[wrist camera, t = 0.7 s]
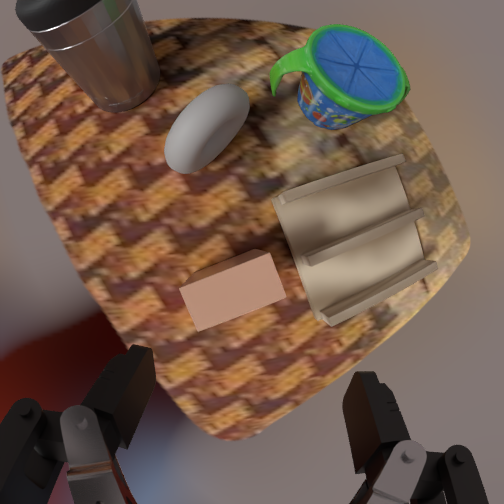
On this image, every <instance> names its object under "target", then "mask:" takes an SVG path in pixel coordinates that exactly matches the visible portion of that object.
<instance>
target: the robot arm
mask: <svg viewBox="0 0 504 504" xmlns="http://www.w3.org/2000/svg"><path fill="white" fill-rule="evenodd" d="M15 10H16V14H17V16H18V18H19V19H20V20H21V22H22V23H23V24H24V25H25V26H26V28H27V29H28V30H29V31H30V32H31V33H32V34H33V36H34V37H36V39H37V40H38V41H39V42H40V43H41V44H42V46H43V47H44V48H45V49H46V50H47V51H48V52H49V53H50V54H51V55H52V57H53V58H54V59H55V60H56V61H57V62H58V63H59V64H60V65H61V67H62V68H63V69H64V70H65V71H66V72H67V73H68V74H69V75H70V76H71V78H72V79H73V80H74V81H75V82H76V83H77V84H78V85H79V86H80V87H81V89H82V90H83V91H84V92H85V93H86V94H87V95H88V96H89V97H90V98H91V100H92V101H93V102H94V103H95V104H96V105H97V106H98V107H99V108H100V109H102V110H104V111H108V112H122V111H126V110H129V109H132V108H134V107H136V106H137V105H139V104H141V103H142V102H143V101H145V100H146V99H147V98H148V97H149V96H150V95H151V94H152V92H153V91H154V90H155V88H156V86H157V84H158V82H159V78H160V68H159V65H158V62H157V59H156V56H155V53H154V50H153V47H152V44H151V41H150V38H149V35H148V32H147V29H146V26H145V23H144V20H143V17H142V14H141V11H140V8H139V5H138V2H137V0H17V3H16V9H15ZM155 382H156V373H155V366H154V359H153V351H152V349H151V348H148V347H144V346H139V345H135V344H133V345H132V346H131V347H130V349H129V350H128V352H127V353H126V355H123V354H118V355H117V356H115V357H114V358H113V359H111V360H110V361H109V362H108V364H107V365H106V367H105V368H104V371H102V373H101V374H100V376H99V378H98V379H97V380H96V382H95V383H94V385H93V386H92V388H91V389H90V391H89V392H88V394H87V396H86V397H85V399H84V400H83V402H82V403H81V405H77V406H72V407H69V408H68V409H66V410H65V411H64V412H55V411H48V410H42V408H41V406H40V405H39V403H38V402H37V401H35V400H34V399H31V398H23V399H20V400H18V401H16V402H15V403H14V404H13V406H12V407H11V409H10V410H9V412H8V413H7V415H6V416H5V417H4V419H3V421H2V422H1V424H0V504H47V503H48V500H49V498H50V495H51V493H52V490H53V488H54V485H55V483H56V481H57V478H58V476H59V474H60V471H61V469H62V467H63V465H64V462H68V463H69V469H70V470H69V471H67V480H68V483H69V487H70V490H71V494H72V497H73V500H74V503H75V504H137V502H136V500H135V498H134V497H133V495H132V493H131V491H130V489H129V486H128V484H127V482H126V480H125V477H124V475H123V473H122V470H121V468H120V465H119V462H118V460H117V457H116V455H115V453H116V451H117V449H118V447H121V448H124V449H128V447H129V445H130V442H131V440H132V438H133V435H134V433H135V431H136V428H137V426H138V424H139V421H140V419H141V417H142V415H143V412H144V410H145V407H146V405H147V403H148V401H149V399H150V396H151V394H152V392H153V389H154V386H155ZM343 414H344V418H345V423H346V428H347V432H348V437H349V442H350V447H351V453H352V458H353V463H354V468H355V474H360V473H365V474H366V479H365V481H364V482H363V483H362V485H361V487H360V488H359V490H358V491H357V493H356V494H355V496H354V497H353V499H352V500H351V502H350V503H349V504H409V500H410V504H446V501H447V504H489V503H488V500H487V496H486V493H485V490H484V487H483V484H482V481H481V478H480V475H479V472H478V469H477V466H476V464H475V461H474V458H473V456H472V453H471V452H470V451H469V449H468V448H466V447H464V446H462V445H454V446H451V447H450V448H449V449H448V450H447V451H446V452H445V453H439V452H428V451H425V449H424V448H423V446H422V445H421V444H419V443H418V442H415V441H412V440H411V439H410V436H409V433H408V431H407V428H406V425H405V422H404V420H403V417H402V415H401V412H400V411H399V407H398V404H397V403H396V399H395V397H394V395H393V392H392V391H391V390H390V389H389V388H388V387H387V386H386V384H385V383H379V381H378V378H377V375H376V373H375V372H374V371H364V372H363V371H357V372H355V373H354V375H353V378H352V380H351V382H350V384H349V387H348V389H347V391H346V393H345V396H344V399H343ZM443 491H444V492H443ZM444 493H445V496H446V501H445V496H444Z"/></svg>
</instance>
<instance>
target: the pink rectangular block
mask: <svg viewBox="0 0 504 504" xmlns="http://www.w3.org/2000/svg"><path fill="white" fill-rule="evenodd" d="M179 289H180V292H181V294H182V296H183V299H184V301H185V304H186V306H187V308H188V310H189V313H190V315H191V317H192V320H193V322H194V324H195V326H196V329H197V331H201V330H204V329H207V328H209V327H212V326H215V325H217V324H220V323H223V322H225V321H228V320H231V319H233V318H236V317H239V316H241V315H244V314H246V313H249V312H251V311H254V310H256V309H259V308H261V307H264V306H266V305H269V304H271V303H274V302H276V301H279V300H281V299H283V298H286V294H285V292H284V289H283V286H282V284H281V281H280V278H279V276H278V273H277V270H276V268H275V265H274V262H273V260H272V257H271V254H270V253H269V252H265V251H261V250H258V249H253V250H251V251H248V252H246V253H243V254H240V255H238V256H235V257H233V258H230V259H228V260H225V261H223V262H220V263H217V264H215V265H212V266H210V267H207V268H205V269H202V270H200V271H197V272H194V273H193V274H192V275H191V276H190V277H189V278H188V279H187V280H186V281H185V282H184V283H183V285H182V286H181V287H180V288H179Z"/></svg>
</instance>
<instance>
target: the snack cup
mask: <svg viewBox="0 0 504 504" xmlns="http://www.w3.org/2000/svg"><path fill="white" fill-rule="evenodd" d="M294 71H302V75H301V81H300V84H299V90H298V103H299V106H300V107H301V110H302V111H303V113H304V114H305V116H306V117H307V118H308V119H309V120H311V121H312V122H313V123H314V124H315V125H316V126H319V127H323V128H327V129H330V130H334V129H341V128H346V127H348V126H350V125H351V124H354V123H356V122H359V121H361V120H363V119H365V118H367V117H369V116H371V115H375V114H381V113H387V112H390V111H392V110H394V109H395V108H396V105H399V104H400V103H401V102H402V101H403V99H404V98H405V97H406V96H407V94H408V93H409V91H410V84H409V81H408V78H407V75H406V73H405V71H404V69H403V68H402V67H401V66H400V64H399V62H398V61H397V59H396V58H395V56H394V55H393V54H392V52H391V51H390V50H389V49H388V48H387V47H386V46H385V45H384V44H383V43H382V42H380V41H379V40H378V39H376V38H375V37H374V36H372V35H370V34H368V33H367V32H365V31H362V30H360V29H358V28H355V27H352V26H347V25H340V24H334V25H327V26H322V27H320V28H319V29H317V30H315V31H314V32H313V33H312V34H311V36H310V37H309V39H308V41H307V43H306V45H305V46H304V47H302V48H299V49H297V50H294V51H292V52H290V53H288V54H286V55H285V56H283V57H282V58H281V59H280V60H278V61H277V62H276V63H275V65H274V66H273V67H272V69H271V71H270V83H271V90H272V95H273V96H274V97H275V96H276V90H277V88H278V86H279V83H280V81H281V79H282V77H283V75H284V74H287V73H290V72H294Z"/></svg>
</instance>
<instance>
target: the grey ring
mask: <svg viewBox="0 0 504 504" xmlns="http://www.w3.org/2000/svg"><path fill="white" fill-rule="evenodd" d="M249 108H250V106H249V97H248V95H247V93H246V92H245V91H244V90H243V89H241V88H240V87H238V86H236V85H234V84H222V85H217V86H214V87H212V88H210V89H208V90H206V91H204V92H203V93H201V94H200V95H199V96H198V97H196V98H195V99H194V100H193V101H191V102H190V104H189V105H188V106H187V107H186V108H185V109H184V110H183V111H182V112H181V114H180V115H179V116H178V118H177V119H176V121H175V122H174V124H173V126H172V128H171V130H170V132H169V134H168V136H167V138H166V143H165V148H164V153H165V158H166V161H167V164H168V165H169V166H170V168H172V169H173V170H175V171H177V172H179V173H183V174H188V173H192V172H196V171H198V170H200V169H201V168H203V167H205V166H206V165H208V164H209V163H210V162H211V161H212V160H214V159H215V158H216V157H217V156H218V155H219V154H220V153H221V152H222V151H223V150H224V149H225V147H226V146H227V145H228V144H229V143H230V142H231V140H232V139H233V138H234V137H235V135H236V134H237V133H238V131H239V130H240V128H241V127H242V125H243V123H244V122H245V120H246V118H247V115H248V112H249Z"/></svg>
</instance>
